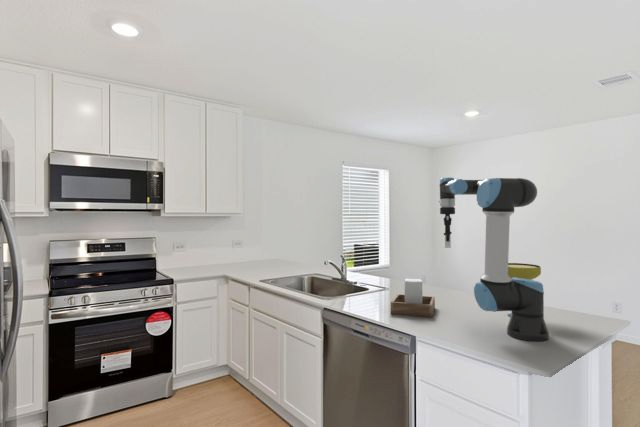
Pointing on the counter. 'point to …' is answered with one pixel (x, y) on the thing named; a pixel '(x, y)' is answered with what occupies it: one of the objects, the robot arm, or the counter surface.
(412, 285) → the supplement box
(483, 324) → the counter surface
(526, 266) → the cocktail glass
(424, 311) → the walnut box
